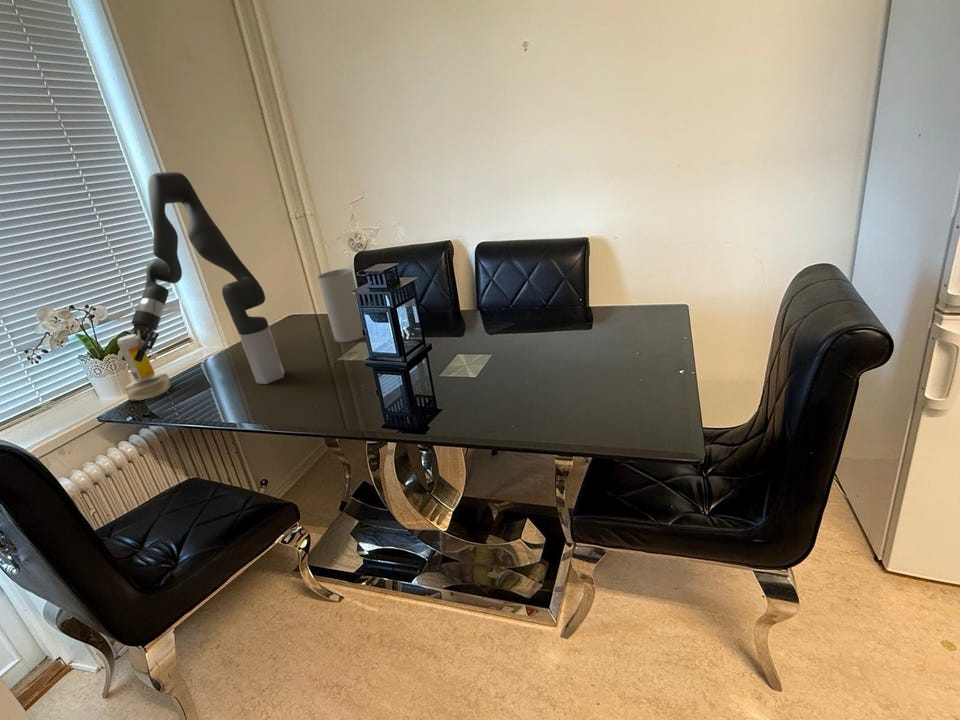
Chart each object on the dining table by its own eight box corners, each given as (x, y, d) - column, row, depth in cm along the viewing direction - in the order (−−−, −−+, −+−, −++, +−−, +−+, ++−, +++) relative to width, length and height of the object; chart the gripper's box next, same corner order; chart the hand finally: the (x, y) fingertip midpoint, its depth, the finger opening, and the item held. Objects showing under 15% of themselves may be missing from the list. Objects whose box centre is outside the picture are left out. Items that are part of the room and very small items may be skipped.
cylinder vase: (354, 329, 207) (338, 268, 197) (374, 332, 199) (358, 269, 189) (328, 341, 198) (310, 277, 189) (348, 345, 191) (330, 279, 181)
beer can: (159, 373, 177) (141, 332, 171) (147, 381, 172) (128, 339, 166) (143, 375, 178) (125, 334, 172) (131, 383, 173) (111, 341, 167)
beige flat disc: (175, 390, 176) (170, 379, 174) (132, 405, 169) (126, 394, 167) (168, 380, 185) (163, 369, 184) (127, 394, 179) (122, 384, 177)
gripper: (124, 310, 175) (105, 357, 170) (153, 308, 170) (135, 357, 165) (144, 319, 182) (127, 364, 177) (173, 318, 177) (156, 365, 171)
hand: (131, 360), depth 171 cm, fingers closed on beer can, 5 cm apart
